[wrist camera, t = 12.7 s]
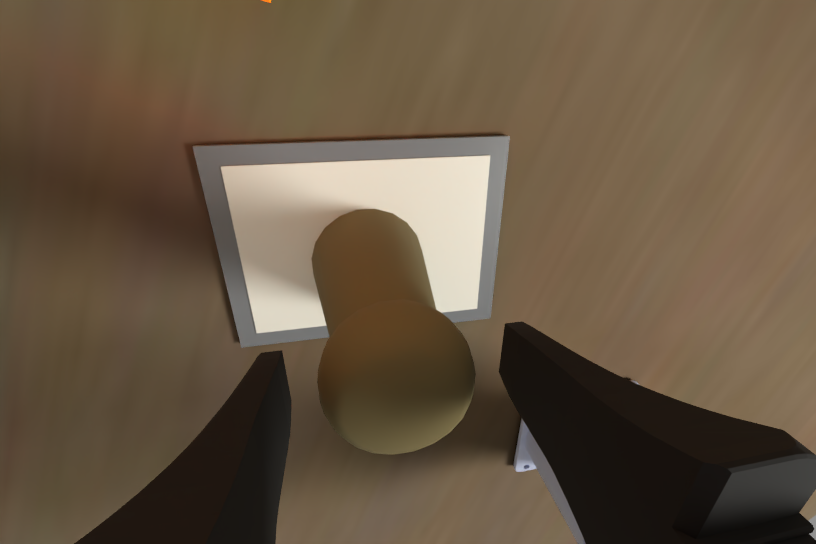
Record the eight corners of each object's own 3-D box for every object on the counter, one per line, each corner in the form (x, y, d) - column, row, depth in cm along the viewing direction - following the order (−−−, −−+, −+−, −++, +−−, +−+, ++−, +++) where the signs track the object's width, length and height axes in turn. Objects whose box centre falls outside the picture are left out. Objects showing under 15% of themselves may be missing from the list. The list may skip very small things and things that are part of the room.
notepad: (506, 135, 20) (510, 136, 20) (488, 314, 25) (491, 319, 24) (195, 145, 17) (191, 146, 17) (242, 343, 22) (241, 348, 22)
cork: (314, 202, 19) (306, 327, 9) (431, 214, 21) (527, 332, 11) (308, 307, 22) (296, 492, 12) (413, 311, 23) (478, 478, 13)
